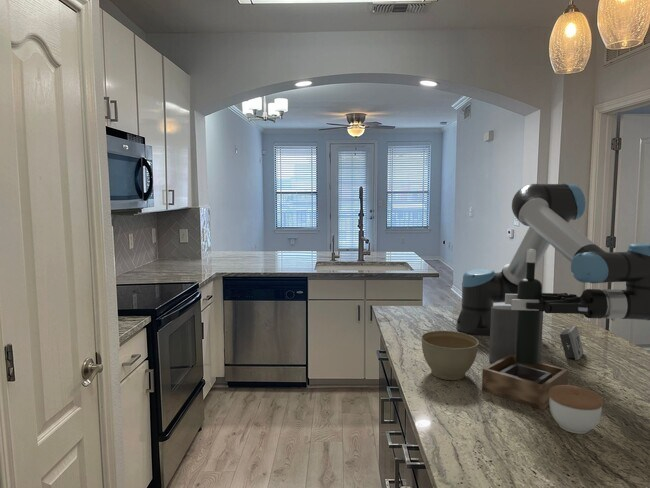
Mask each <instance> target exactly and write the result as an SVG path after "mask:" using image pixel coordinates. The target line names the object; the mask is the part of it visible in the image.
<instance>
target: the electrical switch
mask: <svg viewBox="0 0 650 488" xmlns="http://www.w3.org/2000/svg"><path fill="white" fill-rule="evenodd" d="M559 337H560V341H561V344H562V345H561V346H562V348H563V352H564V353H563V354H564V357H565V358H566V359H574V361H580V359H581V357H582V356H583V355H584V348H583V344H582V340H581V337H580V333H579V329H578V327H577V325H573V326H572V328H567V329H566V328H565V329H564V330H562V332H561V333H559Z"/></svg>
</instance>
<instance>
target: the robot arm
mask: <svg viewBox="0 0 650 488" xmlns="http://www.w3.org/2000/svg"><path fill="white" fill-rule="evenodd" d="M511 201H512V202H511V211H512V213H513V215H514V217H515V218H516V219H517V220H518V222H519V223H521V224H522V225H523V226H526V227H528V229H527V231H526V233H525V235H524V237H523V238H522V240H521V242H520V244H519V246H518V248H517V250H516V252H515V254H514V255H513V257H512V259H511V261H510V262H509V263H507V264H505V265H504V266H503V268H502V270H501V271H500V272H495V270H494V269H492V268H475V269H471V270H468V271H465V272H463V275H462V281H461V310H460V313H459V315H458V318H457V320H456V330H458V331H459V332H461V333H464V334H468V335H476V336H479V335H480V336H487V335H490V327H491V307H493V306H494V303H495V304H497V303H498V304H499V303H501V304H502V303H504V304H505V305H510V306H511V309H512V310H533V311H539V309H540V311H542V312H543V313H545V314H563V315H564V314H571V315H573V314H575V315H577V314H578V315H583V316H584V317H586V319H607V320H608V319H610V320H611V321H612V322H615V321H616V319H617V320H639V321H640V320H642V321H650V243H644V242H643V243H642V242H641V243H640V242H639V243H637V242H636V243H631V244H629V245H628V248H627V251H613V252H612V251H611V252H609V251H605V250H604V249H603V248H601V247H600V246H599V245H597V244H596V243H595V242H593V240H591V239H589V238H588V237H587V236H586V235H584V234H583V233H582V232H581V231H579V230H578V229H577V228H575V227H574V226H573V225H572V224H571V223H570V221H571V220H572V221H575V220H578V219H579V220H580V218H582V217H583V215H584V213H585V210H586V196H585V194H584V191H583V190H582V189H581V188H580V187H579V186H578V185H576V184H573V183H564V182H563V183H531V184H526V185H525V186H523V187H521V188H520V189H519V190H518V191H516V193H514V196H513V198H512V200H511ZM550 246H551V247H552V248H554V249H555V250H556V251H557V252H558V253H559V254H560V255H562V256H563V257H564V258H565V259H566V260H567V261H568V262H569V263H570V270H571V273H572V274H573V277H574V279H575V280H576V281H578V282H580V283H584V284H586V283H587V284H588V283H589V284H601V283H603V284H605V283H606V284H607V283H625V289H613V288H612V289H609V288H606V289H605V288H602V289H599V288H586V289H584V290H583V291H582V293H581V295H580V296H577V294H572V293H570V294H568V293H567V292H564V293H563V292H561V293H556V292H554V293H553V292H552V293H550V292H542V298H540V303H539V300H531V299H517V298H518V283H519V281H520V280H522V279H524V278H526V271H527V249H535V250H536V262H535V270H536V268H537V267H538V265H539V263H540V262H541V261H542V259H543V257H544V255H545V253H546V252H547V250H548V249H549V247H550ZM511 304H512V305H511Z"/></svg>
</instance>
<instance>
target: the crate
mask: <svg viewBox="0 0 650 488" xmlns="http://www.w3.org/2000/svg"><path fill="white" fill-rule="evenodd" d="M481 380H482V383H481V390H482V391H484V392H486V393H490V394H493V395H495V396H499V397H501V398H504V399H507V400H510V401H513V402H516V403H520V404H523V405H525V406H528V407H532V408H534V409H538V410H541V411H544V410H545V409H546V408H548V407H550V405H549V389H550V388H551V387H553V386H557V385H568V380H569V369H568V368H563V367H561V366H556V365H552V364H547V363H543V362H542V361H541V362H538V363H537V364H534V365H527V364H522V363H519V362H517V361H516V360H515V356H514V355H508V356H506V357H504V358H502V359H500V360H498V361H496V362H495V363H491V364H488V365H487V366H485V367H484V368H482V377H481Z"/></svg>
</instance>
